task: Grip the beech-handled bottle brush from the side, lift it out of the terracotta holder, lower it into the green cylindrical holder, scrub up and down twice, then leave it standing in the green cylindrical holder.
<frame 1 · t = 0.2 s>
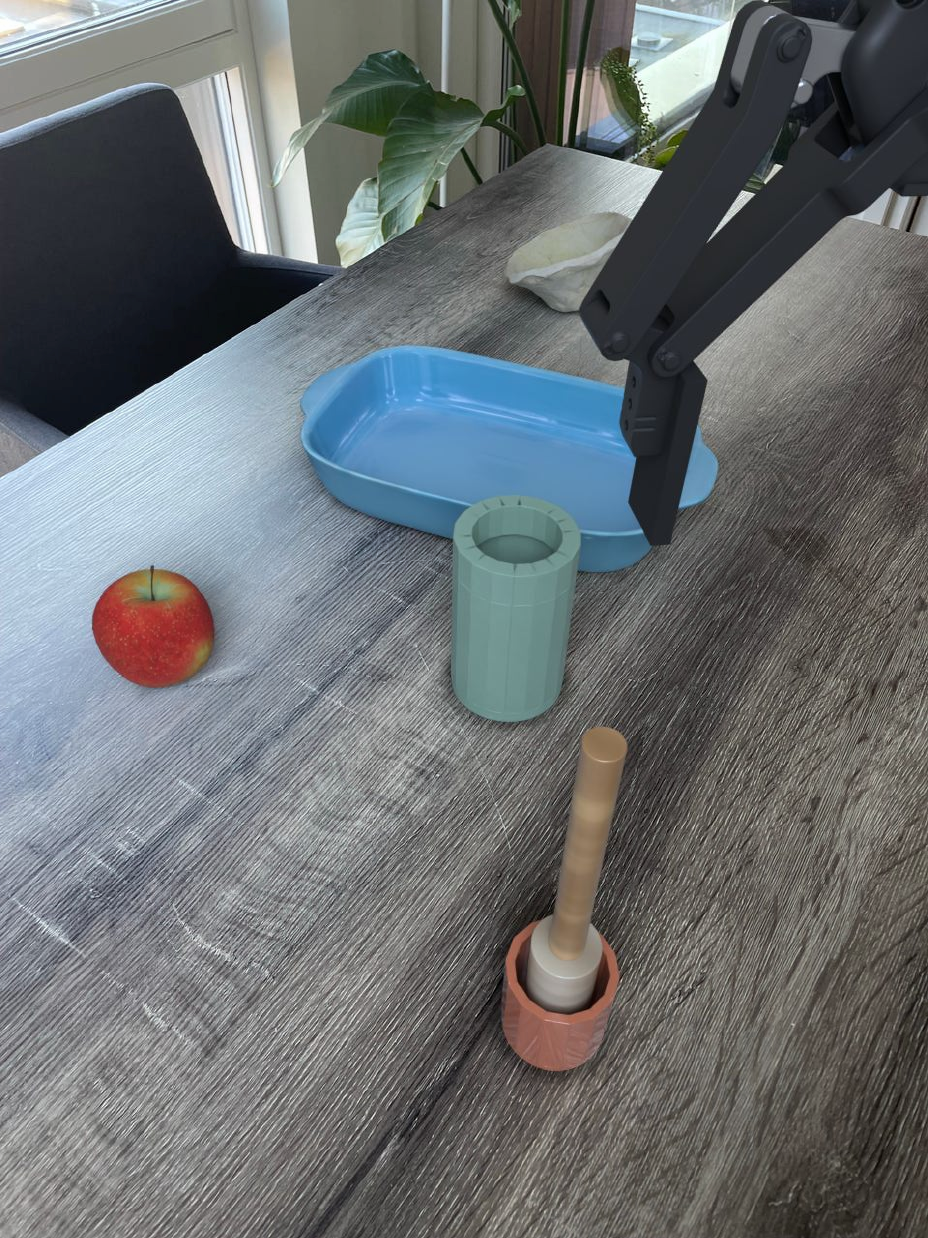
hand: (819, 511, 38), 32 cm above the table, tool pointing down, fingers open, 13 cm apart
bottle brush: (553, 1014, 56), resting on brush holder
apple: (167, 673, 74), on the table
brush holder: (552, 1018, 56), on the table
bowl: (562, 304, 117), on the table
green cylindrical holder: (506, 679, 74), on the table
casserole dish: (499, 493, 91), on the table
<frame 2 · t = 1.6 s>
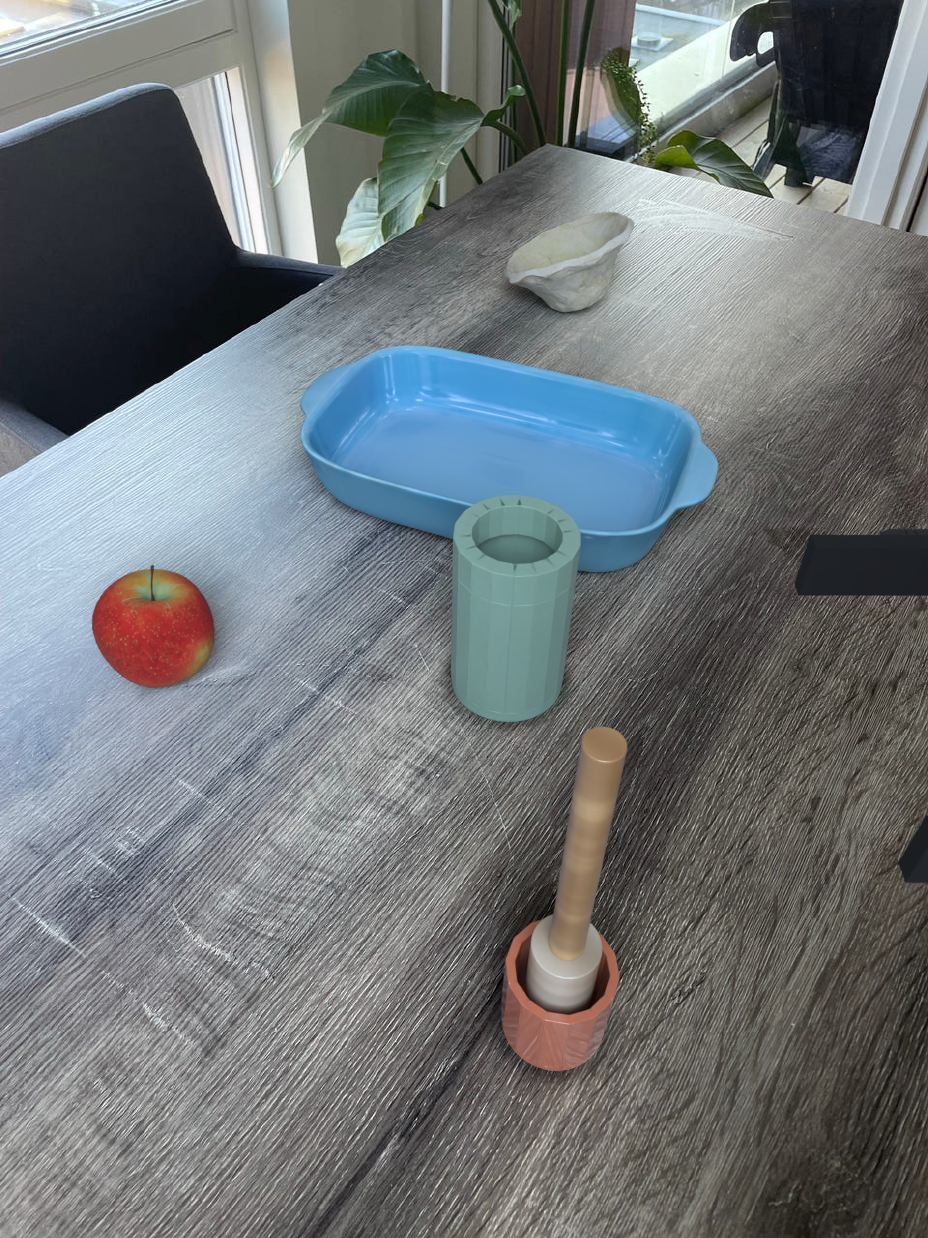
hand: (851, 688, 36), 28 cm above the table, tool horizontal, fingers open, 13 cm apart
nothing on the table moved.
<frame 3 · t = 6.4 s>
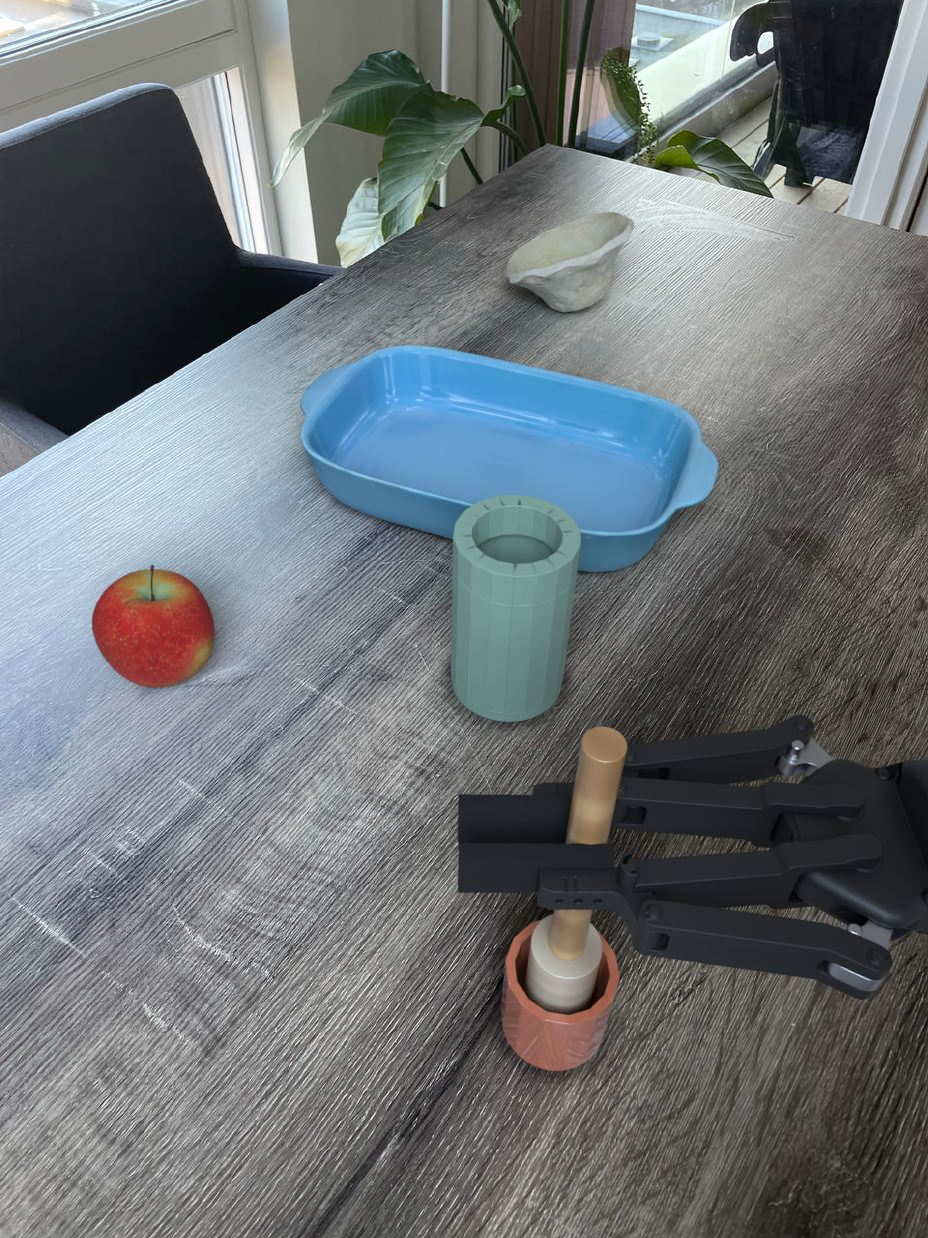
hand: (459, 843, 44), 18 cm above the table, tool horizontal, fingers closed on bottle brush, 2 cm apart
bottle brush: (553, 1014, 56), resting on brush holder, touching gripper
everything else where it was.
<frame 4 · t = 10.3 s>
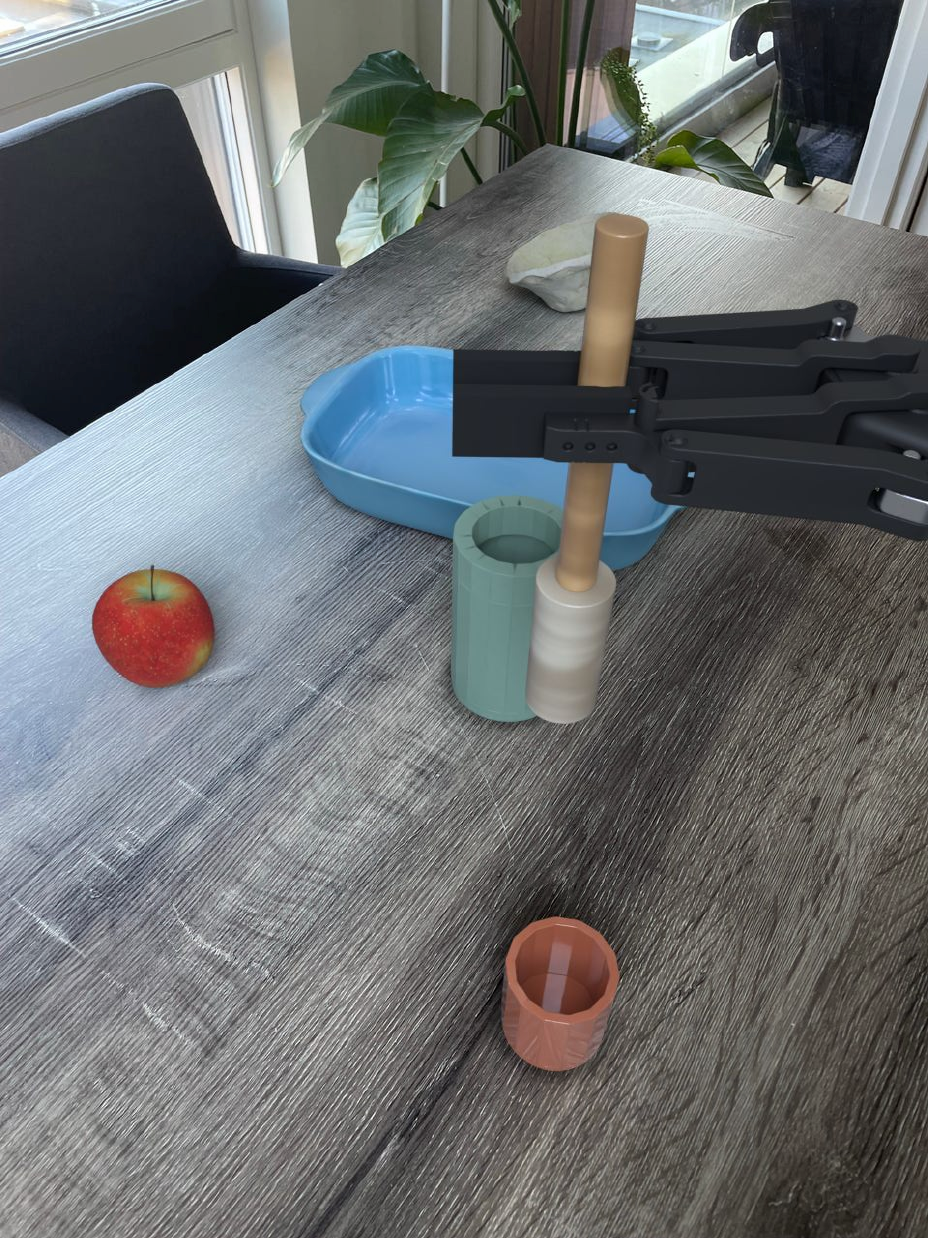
hand: (453, 402, 38), 34 cm above the table, tool horizontal, fingers closed on bottle brush, 2 cm apart
bottle brush: (560, 696, 50), point 17 cm above the table, touching gripper
everything else where it was.
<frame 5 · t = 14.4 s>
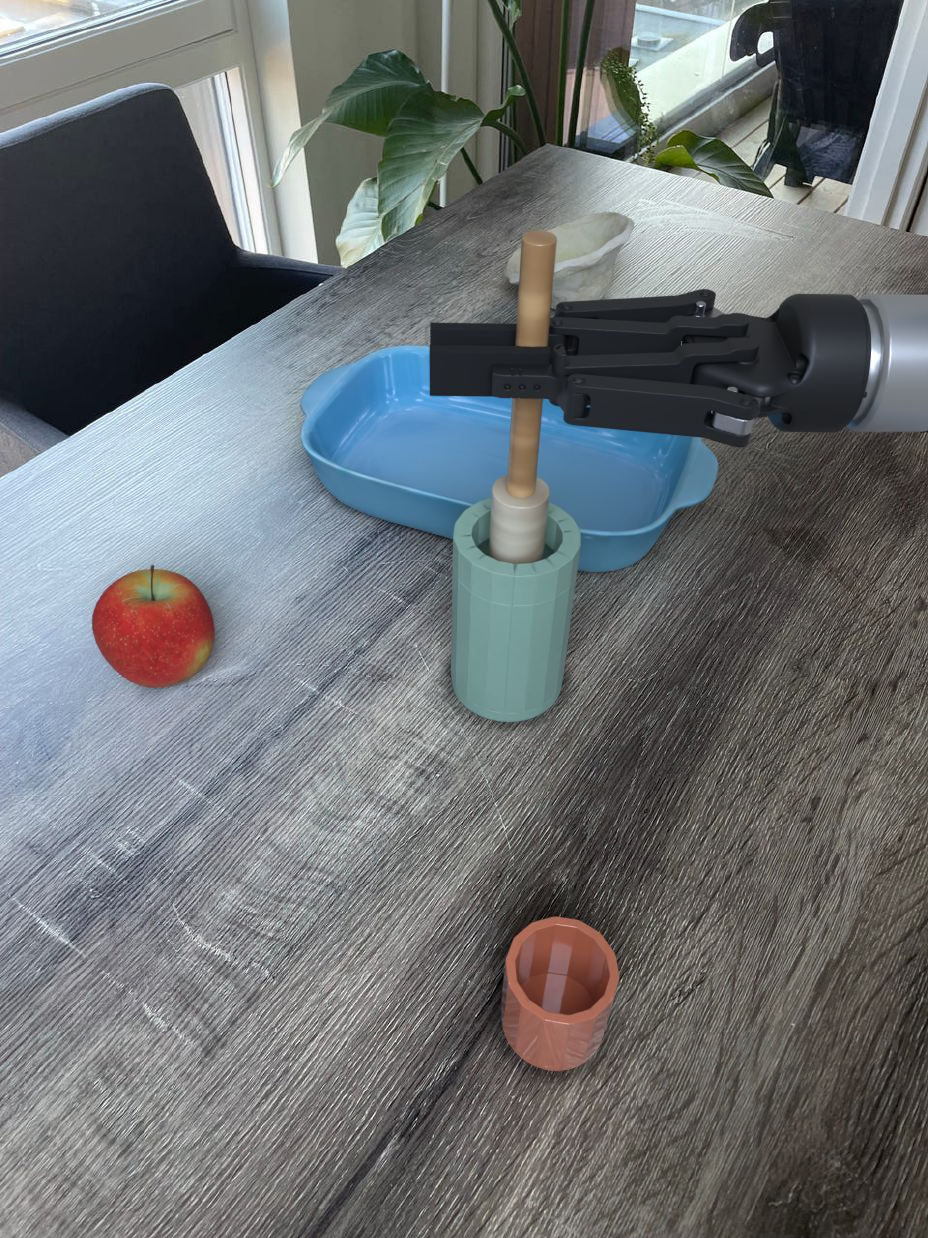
hand: (430, 358, 56), 26 cm above the table, tool horizontal, fingers closed on bottle brush, 2 cm apart
bottle brush: (513, 584, 68), point 9 cm above the table, touching gripper
everything else where it was.
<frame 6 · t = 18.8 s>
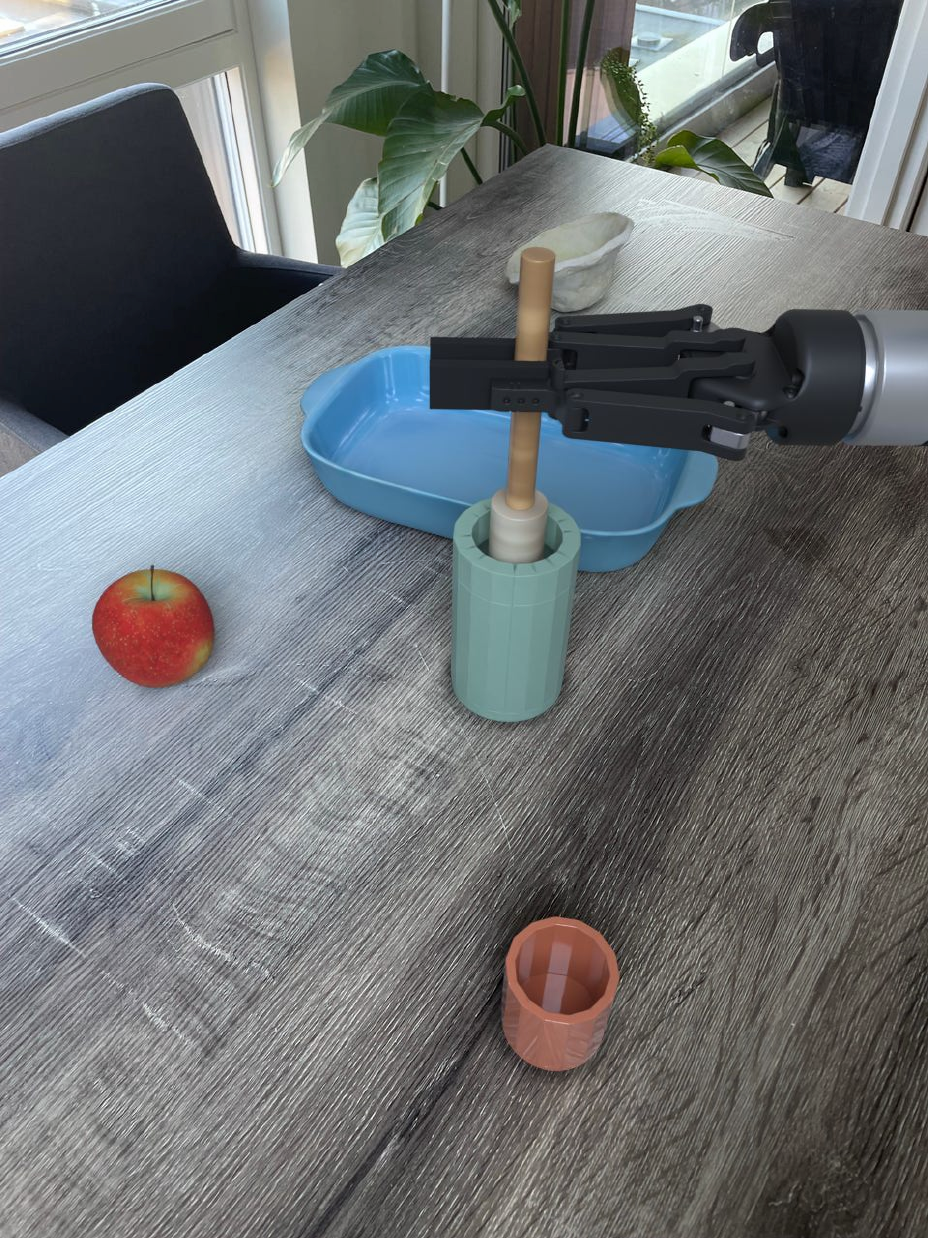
hand: (430, 372, 56), 26 cm above the table, tool horizontal, fingers closed on bottle brush, 2 cm apart
bottle brush: (512, 595, 68), point 9 cm above the table, touching gripper
everything else where it was.
when the fingers open (18 cm above the table, at t = 22.8 s): bottle brush stays where it is, resting on green cylindrical holder.
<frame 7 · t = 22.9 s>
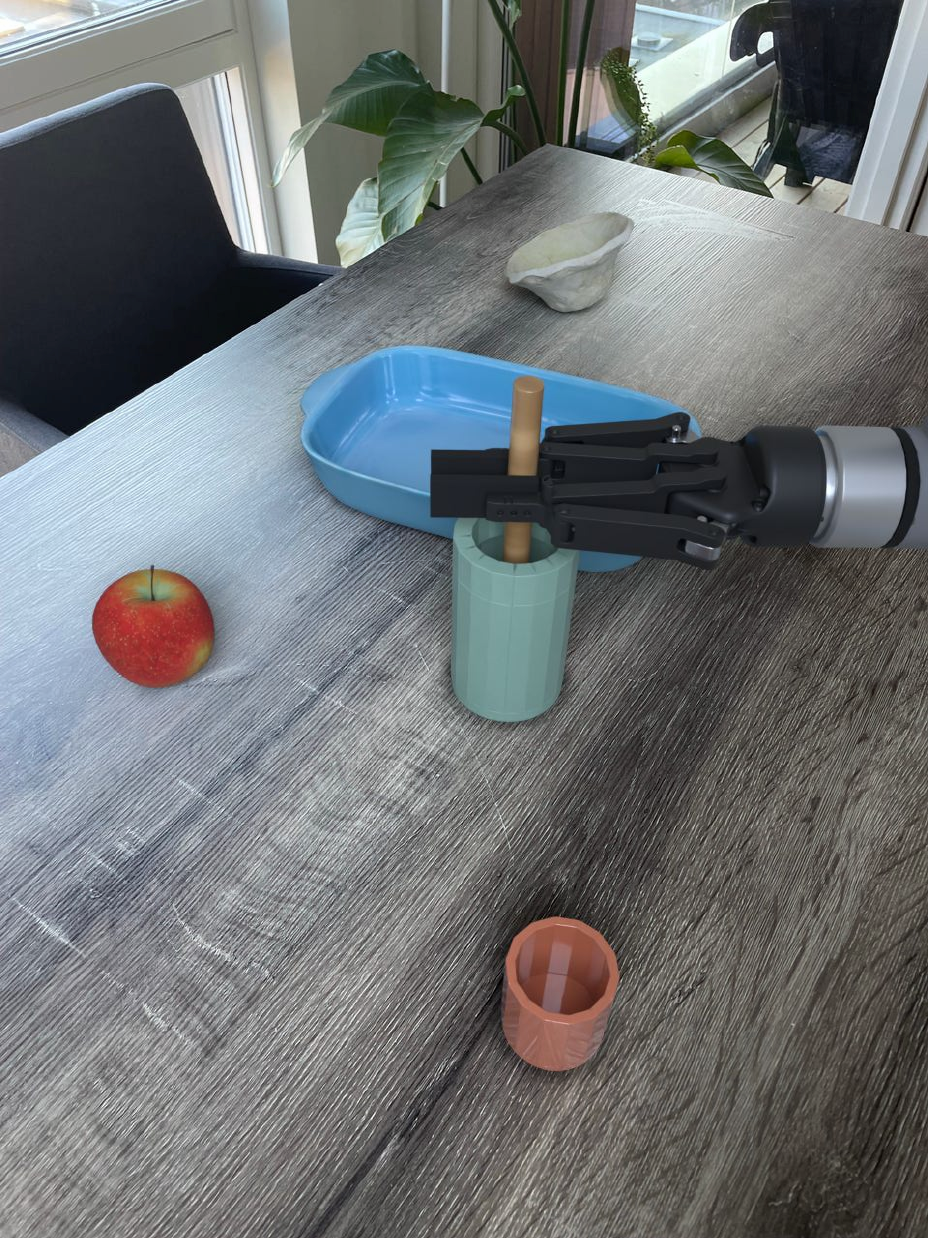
hand: (431, 483, 62), 18 cm above the table, tool horizontal, fingers closed
bottle brush: (507, 670, 73), point 1 cm above the table, touching green cylindrical holder
everything else where it was.
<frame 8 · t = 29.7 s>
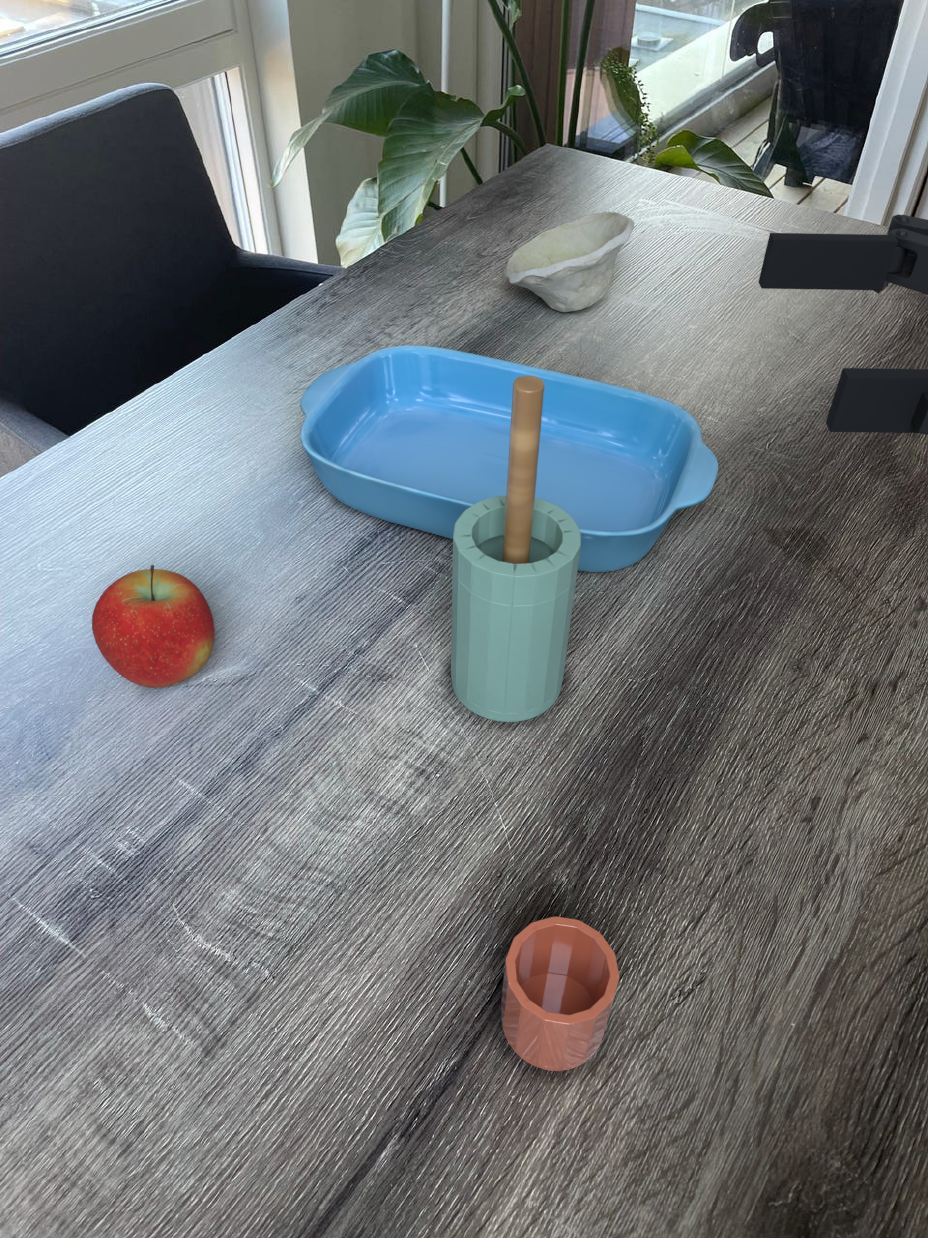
hand: (796, 323, 48), 32 cm above the table, tool horizontal, fingers open, 13 cm apart
nothing on the table moved.
at the end: bottle brush 0.1 cm off-centre in the green cylindrical holder, point 1.0 cm above the green cylindrical holder's base; bottle brush tilted 0°; the gripper is holding nothing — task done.
